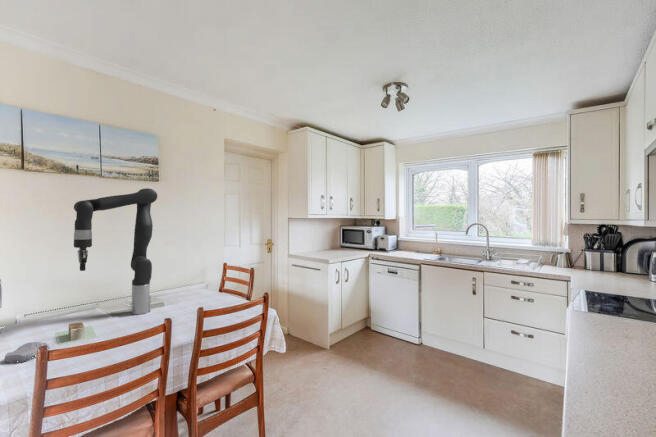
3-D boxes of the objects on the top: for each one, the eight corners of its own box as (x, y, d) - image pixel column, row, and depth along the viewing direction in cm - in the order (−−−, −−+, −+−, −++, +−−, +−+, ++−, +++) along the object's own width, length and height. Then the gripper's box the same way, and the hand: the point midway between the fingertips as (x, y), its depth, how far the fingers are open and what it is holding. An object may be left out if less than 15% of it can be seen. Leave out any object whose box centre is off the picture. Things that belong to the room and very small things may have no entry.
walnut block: (82, 321, 149) (84, 327, 142) (81, 331, 149) (84, 338, 142) (68, 324, 146) (71, 330, 139) (68, 334, 146) (70, 341, 139)
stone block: (51, 353, 132) (27, 349, 131) (54, 343, 132) (29, 339, 131) (27, 368, 120) (0, 364, 119) (30, 357, 120) (3, 352, 119)
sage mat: (91, 327, 157) (91, 325, 157) (97, 338, 145) (97, 336, 144) (55, 334, 147) (55, 332, 147) (58, 346, 134) (58, 345, 134)
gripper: (94, 239, 158) (93, 271, 158) (90, 236, 167) (89, 267, 167) (75, 239, 152) (74, 273, 153) (72, 237, 161) (71, 269, 162)
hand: (82, 270), depth 160 cm, fingers closed
